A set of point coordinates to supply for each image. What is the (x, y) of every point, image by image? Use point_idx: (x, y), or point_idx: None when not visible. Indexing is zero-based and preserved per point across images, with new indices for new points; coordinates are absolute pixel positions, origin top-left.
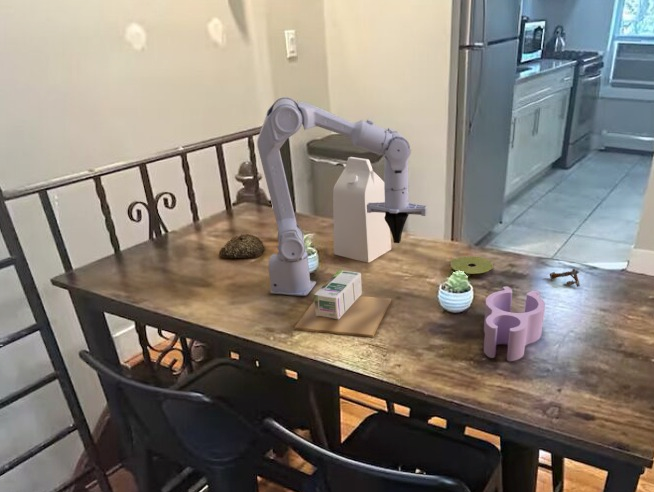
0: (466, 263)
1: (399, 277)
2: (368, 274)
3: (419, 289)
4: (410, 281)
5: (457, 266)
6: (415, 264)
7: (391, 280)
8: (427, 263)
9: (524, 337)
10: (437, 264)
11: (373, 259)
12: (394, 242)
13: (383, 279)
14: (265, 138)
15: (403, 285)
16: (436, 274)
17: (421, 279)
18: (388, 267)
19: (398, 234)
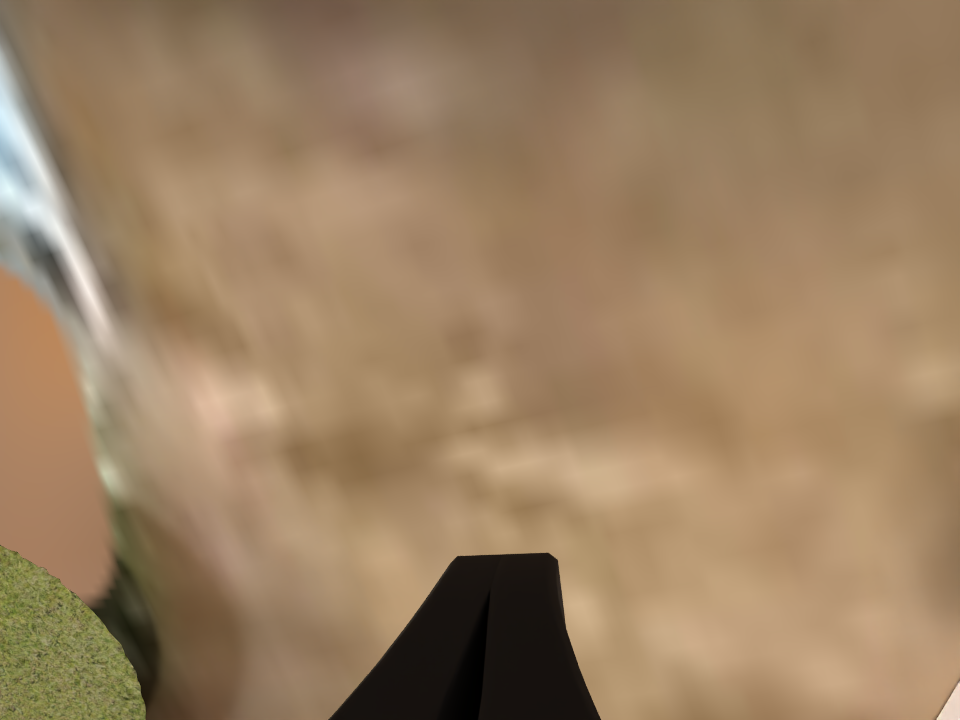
0: (14, 702)
1: (556, 388)
2: (924, 377)
3: (249, 166)
4: (412, 327)
5: (53, 634)
6: None
7: (617, 298)
8: None
9: None
10: (314, 710)
11: (949, 703)
12: (538, 556)
13: (714, 299)
14: None
15: (447, 213)
16: (238, 529)
17: (325, 398)
18: (743, 577)
19: (409, 660)
